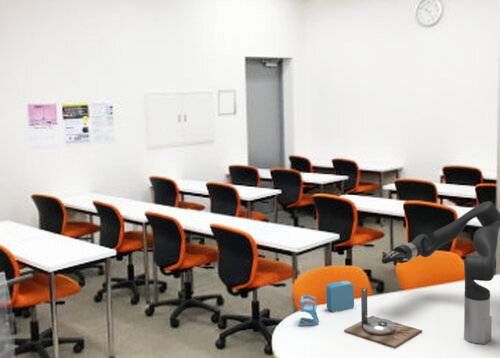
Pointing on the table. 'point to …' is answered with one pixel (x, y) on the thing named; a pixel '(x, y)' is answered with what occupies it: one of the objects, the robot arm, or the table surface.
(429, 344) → the table surface
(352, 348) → the table surface
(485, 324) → the robot arm
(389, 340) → the base plate
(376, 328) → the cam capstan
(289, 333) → the table surface
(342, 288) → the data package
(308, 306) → the chair
